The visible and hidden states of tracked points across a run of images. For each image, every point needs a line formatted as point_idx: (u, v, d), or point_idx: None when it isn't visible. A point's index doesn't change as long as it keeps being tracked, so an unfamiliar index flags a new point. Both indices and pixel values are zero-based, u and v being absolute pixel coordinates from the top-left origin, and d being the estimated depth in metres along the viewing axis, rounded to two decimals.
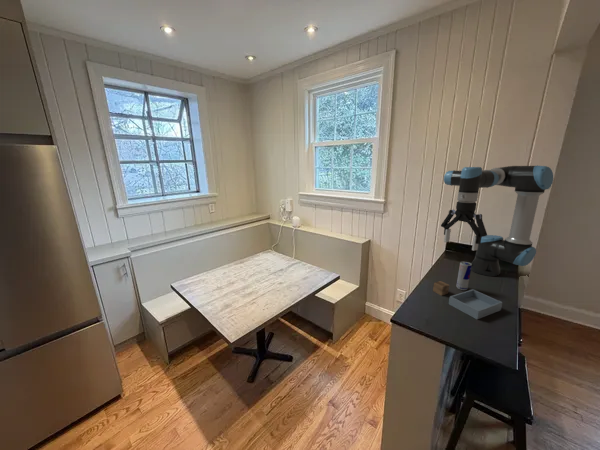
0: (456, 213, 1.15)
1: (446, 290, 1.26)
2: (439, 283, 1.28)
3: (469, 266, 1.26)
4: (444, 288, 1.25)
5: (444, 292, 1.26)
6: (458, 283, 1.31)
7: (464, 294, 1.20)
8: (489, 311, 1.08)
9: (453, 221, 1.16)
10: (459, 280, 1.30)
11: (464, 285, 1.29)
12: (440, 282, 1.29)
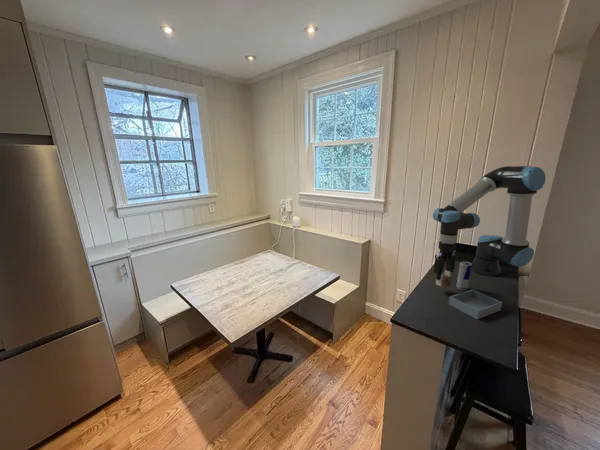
0: None
1: (448, 282, 1.25)
2: None
3: (469, 266, 1.26)
4: (446, 279, 1.24)
5: (446, 284, 1.25)
6: (458, 283, 1.31)
7: (464, 294, 1.20)
8: (489, 311, 1.08)
9: None
10: (459, 280, 1.30)
11: (464, 285, 1.29)
12: None
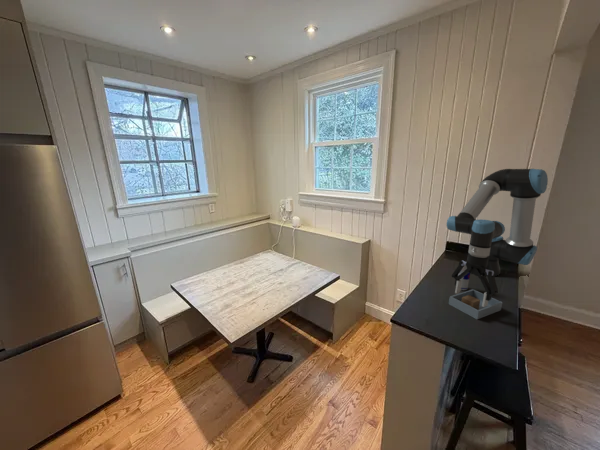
0: (467, 265, 1.11)
1: None
2: (471, 299, 1.11)
3: None
4: None
5: None
6: None
7: (464, 294, 1.20)
8: (489, 311, 1.08)
9: (464, 273, 1.12)
10: None
11: (464, 285, 1.29)
12: (466, 298, 1.12)
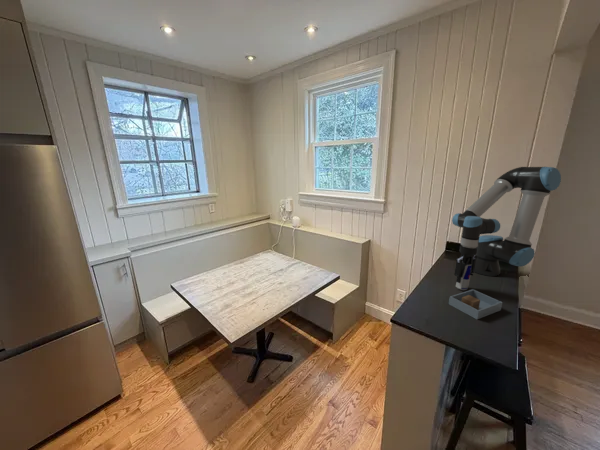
0: None
1: None
2: (471, 299, 1.11)
3: (469, 266, 1.26)
4: None
5: None
6: None
7: (464, 294, 1.20)
8: (489, 311, 1.08)
9: None
10: None
11: (464, 285, 1.29)
12: (466, 298, 1.12)
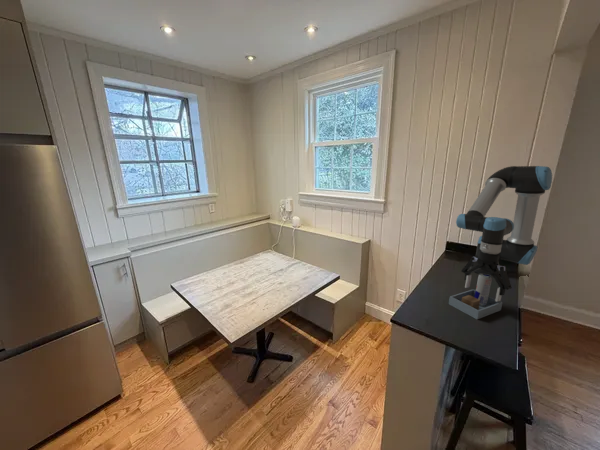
0: (478, 261, 1.14)
1: None
2: (471, 299, 1.11)
3: None
4: None
5: None
6: (485, 300, 1.13)
7: (464, 294, 1.20)
8: (489, 311, 1.08)
9: (475, 269, 1.15)
10: (486, 296, 1.13)
11: None
12: (466, 298, 1.12)
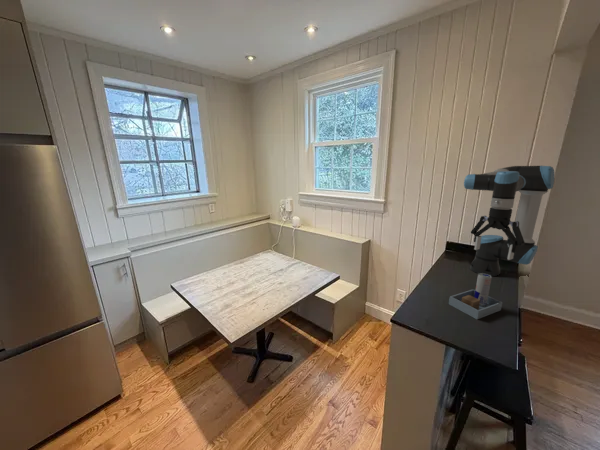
0: (489, 220, 1.08)
1: None
2: (471, 299, 1.11)
3: None
4: None
5: None
6: (485, 300, 1.13)
7: (464, 294, 1.20)
8: (489, 311, 1.08)
9: (485, 228, 1.10)
10: (486, 296, 1.13)
11: None
12: (466, 298, 1.12)
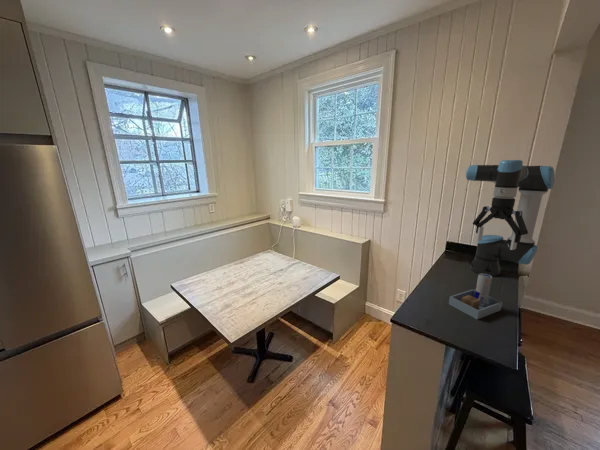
0: (491, 210, 1.07)
1: None
2: (471, 299, 1.11)
3: None
4: None
5: None
6: (485, 300, 1.13)
7: (464, 294, 1.20)
8: (489, 311, 1.08)
9: (487, 218, 1.09)
10: (486, 296, 1.13)
11: None
12: (466, 298, 1.12)
